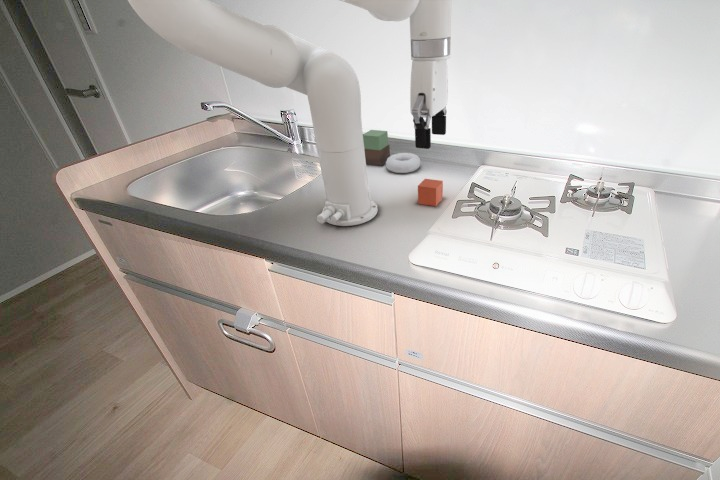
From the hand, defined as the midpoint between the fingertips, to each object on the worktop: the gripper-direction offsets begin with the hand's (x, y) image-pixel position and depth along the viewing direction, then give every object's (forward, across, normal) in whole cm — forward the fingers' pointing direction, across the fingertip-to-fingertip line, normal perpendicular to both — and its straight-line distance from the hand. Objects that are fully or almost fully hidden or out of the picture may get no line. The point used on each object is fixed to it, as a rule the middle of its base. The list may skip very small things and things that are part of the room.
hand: (431, 140), depth 79 cm
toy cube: (+14, +1, 0) cm, 14 cm away
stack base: (+14, -19, -25) cm, 34 cm away
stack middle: (+9, -19, -25) cm, 33 cm away
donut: (+14, -17, -15) cm, 26 cm away
